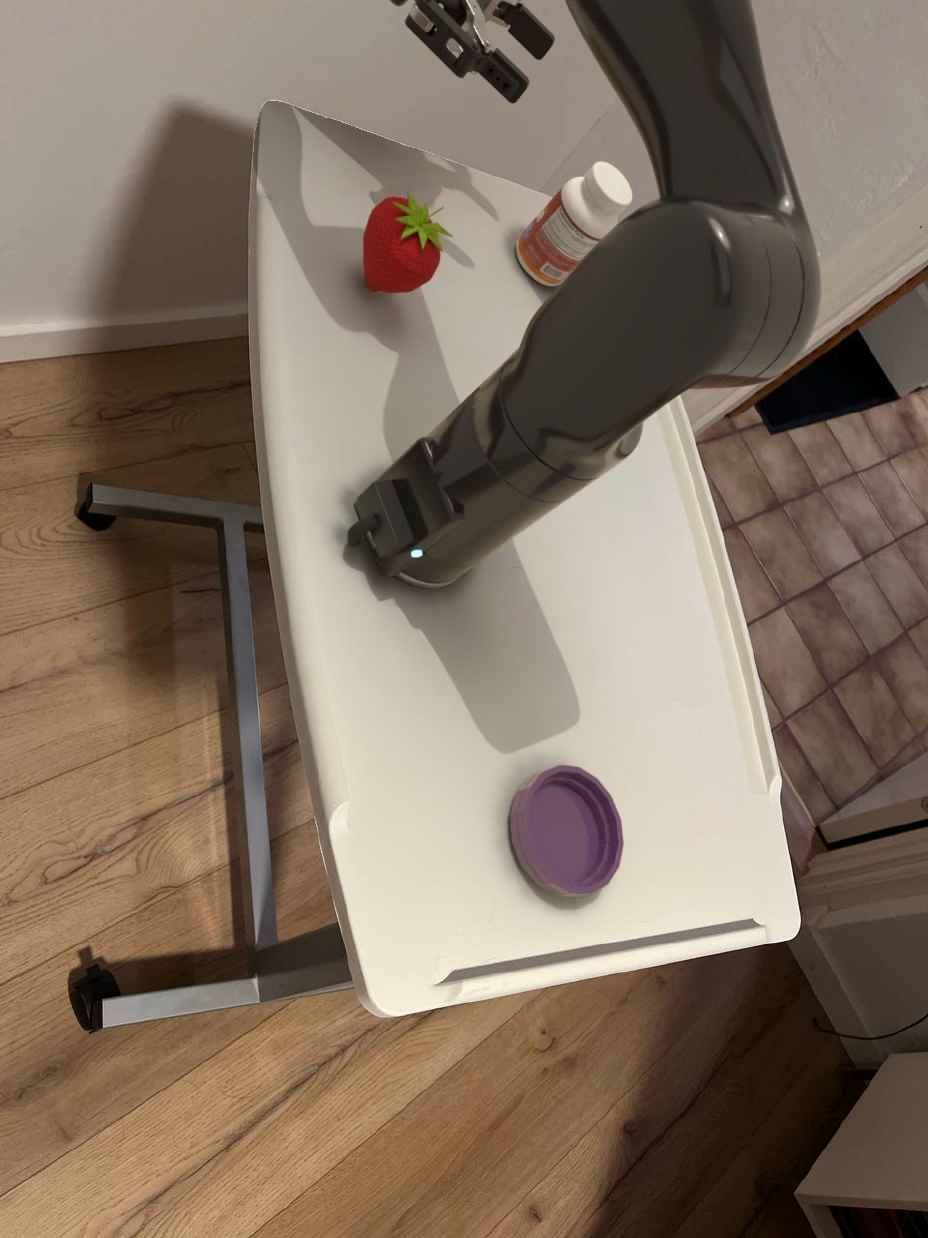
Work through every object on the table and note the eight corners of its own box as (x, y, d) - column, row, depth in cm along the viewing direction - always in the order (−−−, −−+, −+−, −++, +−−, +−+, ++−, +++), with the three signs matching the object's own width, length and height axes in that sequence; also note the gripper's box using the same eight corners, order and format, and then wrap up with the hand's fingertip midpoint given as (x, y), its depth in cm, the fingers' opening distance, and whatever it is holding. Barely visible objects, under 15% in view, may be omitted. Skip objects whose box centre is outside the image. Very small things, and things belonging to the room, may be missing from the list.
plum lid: (535, 917, 62) (555, 914, 60) (488, 793, 64) (506, 786, 62) (619, 870, 68) (640, 866, 66) (574, 757, 69) (593, 750, 68)
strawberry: (389, 254, 78) (452, 169, 70) (411, 329, 76) (478, 251, 68) (329, 241, 74) (388, 150, 67) (350, 319, 72) (414, 235, 65)
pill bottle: (537, 230, 92) (611, 149, 83) (572, 281, 92) (649, 205, 83) (502, 241, 88) (576, 157, 79) (538, 294, 88) (616, 216, 79)
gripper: (370, -97, 64) (542, 71, 69) (434, -155, 72) (583, 0, 77) (324, -5, 70) (486, 144, 75) (388, -68, 78) (530, 70, 83)
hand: (535, 71), depth 76 cm, fingers open, 8 cm apart
